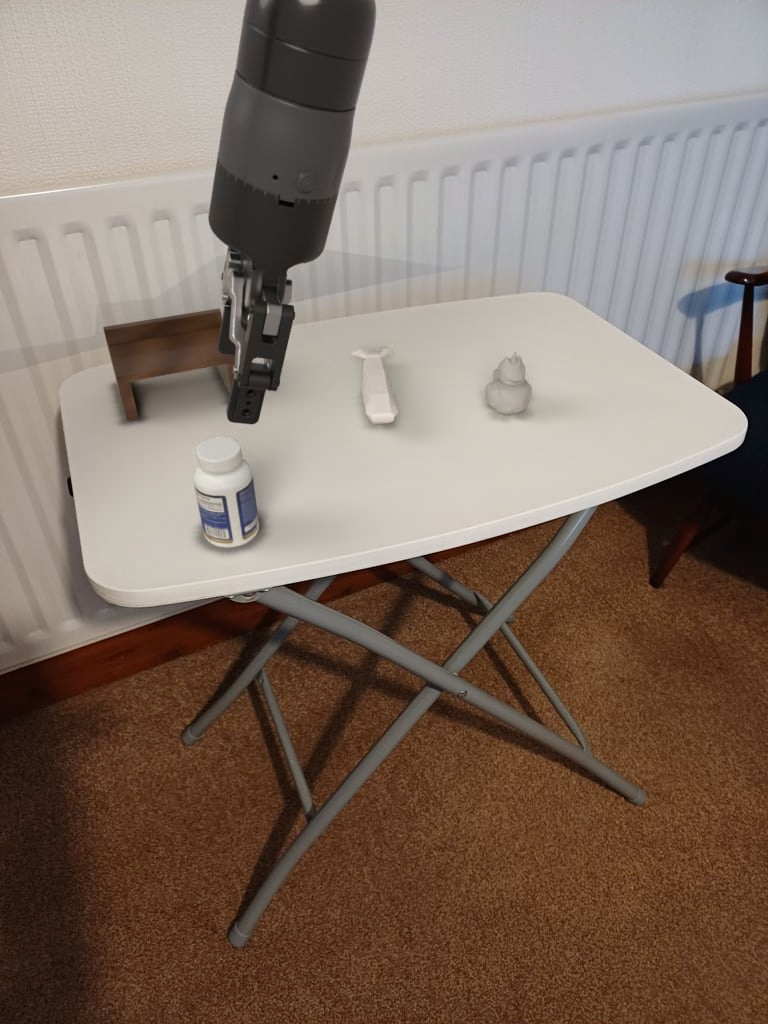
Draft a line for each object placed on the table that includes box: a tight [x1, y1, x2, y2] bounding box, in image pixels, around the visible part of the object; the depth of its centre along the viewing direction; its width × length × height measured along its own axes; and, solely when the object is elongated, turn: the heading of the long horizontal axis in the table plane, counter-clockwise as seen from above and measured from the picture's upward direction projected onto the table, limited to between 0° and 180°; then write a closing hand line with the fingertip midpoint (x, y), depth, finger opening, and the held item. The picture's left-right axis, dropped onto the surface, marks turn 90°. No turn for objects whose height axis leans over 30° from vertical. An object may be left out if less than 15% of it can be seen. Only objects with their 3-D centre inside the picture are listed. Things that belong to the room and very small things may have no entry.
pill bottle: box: [192, 436, 260, 548], centre depth 73 cm, size 5×5×10 cm
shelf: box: [102, 308, 235, 422], centre depth 94 cm, size 14×9×8 cm, turn 112°
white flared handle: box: [350, 346, 399, 425], centre depth 94 cm, size 6×18×4 cm, turn 5°
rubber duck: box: [484, 350, 533, 415], centre depth 91 cm, size 5×7×8 cm
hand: (236, 384), depth 58 cm, fingers open, 8 cm apart
